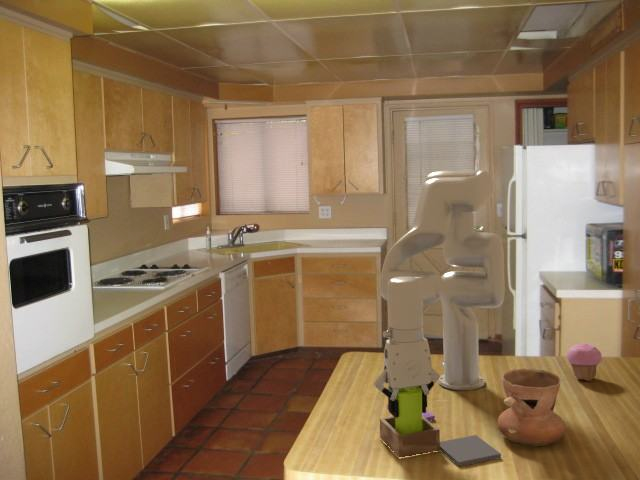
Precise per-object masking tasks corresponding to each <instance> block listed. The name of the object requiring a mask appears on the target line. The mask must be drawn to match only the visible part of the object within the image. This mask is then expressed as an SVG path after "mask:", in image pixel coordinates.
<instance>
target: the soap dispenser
mask: <svg viewBox="0 0 640 480" xmlns="http://www.w3.org/2000/svg"><path fill="white" fill-rule="evenodd" d="M396 399H397V400H398V410H399V417H398V418H395V430H396V431H397V432H398V433H399V434H400V435H403V434H408V433H414V432H419V431H422V389H421V388H420V387H418V386H416V387H409V388H403V389H399V390H398V393H397V396H396Z"/></svg>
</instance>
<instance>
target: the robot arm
mask: <svg viewBox="0 0 640 480" xmlns="http://www.w3.org/2000/svg"><path fill="white" fill-rule="evenodd" d="M493 194H494V180H493V177H492V174H491V173H490V172H489V171H488V170H484V169H464V170H461V169H460V170H439V171H434V172H431V173H429V174H428V175H427V176H426V178H425V182H424V183H423V184H422V186H421V189H420V193H419V197H418V201H417V204H416V210H415V214H414V218H413V221H412V226H411V229H410V230H409V231H408V232H407V233H405V234H404V235H403V236H401V237H400V238H399V239H398V240H397V241H396V242H395V243H394V244H393V246H392V247H390V248H389V250H388V252H387V253H386V255H385V258H384V260H383V261H384V262H383V265H382V269H381V273H380V277H379V283H378V284H379V289H378V290H379V293H380V296H381V297H382V298H383V300H385V301H387V316H388V317H387V318H388V319H387V320H388V321H387V322H388V326H387V330H385V331H383V332H382V337H383V338H384V339H385V338H387V339H386V340H385V346H384V352H383V353H384V354H383V363H382V364H383V365H382V373H381V374H379V376H378V377H377V379H376V380H374V383H373V386H374V387H375V388H376V389H378V390H379V391H380V392H381V393H382V394H384V396H386V397H387V404H388V408H387V409H388V412H389V414H391V416H394V417H395V418H398V417H399V410H398V400H397V399H396V396H397V393H398V390H399V389H403V388H409V387H416V386H418V387H420V388H421V389H422V413H426V410H427V407H428V395H429V394H430V391H431V390H432V388H433V387H434V386H435V384H436V383H437V381H438V384H439V385H440V386H442V387H444V388H446V389H450V390H453V391H472V390H477V389H480V388H482V387H483V386H484V385H485V384H486V383H485V382H486V381H485V380H486V379H485V378H484V377H483V376H482V375H480V372H479V371H480V366H479V362H480V359H479V351H480V350H479V321H478V318H477V315H476V314H475V312H474V311H473V310H472V308H483V309H486V308H487V309H497V308H499V307H500V306H501V305H503V303H504V300H505V296H506V295H505V294H506V293H505V292H506V291H505V290H506V289H505V288H506V286H505V285H506V283H505V279H506V278H505V253H504V245H503V241H502V238H501V237H500V236H499V235H498V234H496V233H495V232H494V233H493V232H485V231H483V232H481V231H480V232H477V231H476V230H475V216H474V215H475V214H474V212H477V211H479V210H480V209H481V208H483V207H484V206H485V205H486V204H488V202H489V201H490V199H492V197H493ZM441 245H442V253H443V258H444V261H445V264H447V265H448V266H451V267H454V268H455V267H456V268H473V269H474V268H475V269H476V268H477V269H483V270H484V271H472V270H471V271H468V270H452V271H448V272H445V273H444V274H442V275H439V274H438V273H437V272H434V271H427V270H413V269H412V270H411V269H401V268H402V266H403V265H404V264H405V263H406V262H407V261H408V260H409V259H411V258H413V257H414V256H416V255H419V254H421V253H424V252H426V251H429V250H432V249H433V248H436V247H438V246H439V247H440V246H441ZM439 300H440V303H441V311H442V340H443V341H442V342H443V343H442V344H443V345H442V346H443V349H442V350H443V362H442V363H441V368H443V374H441V375H440V374H439V373H438V372H437V371H436V370H435V369H434V368H433V364H432V355H431V351H430V346H429V345H430V344H429V342H428V339H427V338H426V337H424V311H423V309H424V308H423V307H425V306H426V307H427V306H431V305H434V304H436V303H437V302H438V301H439ZM384 384H388V386H387V387H385V386H384Z"/></svg>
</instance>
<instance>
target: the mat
mask: <svg viewBox="0 0 640 480" xmlns="http://www.w3.org/2000/svg"><path fill="white" fill-rule="evenodd" d="M440 450H441V451H442V452H443V453H444V454H443V453H442V452H441V451H440V452H441V453H442V454H443V455H445V454H446V455H447V456H448V457H449V458H450V459H451V460H452V461H451V460H450V459H449V458H448V457H447V456H446V455H445V456H446V457H447V458H448V459H449V460H450V461H451V462H453V461H454V462H455V463H456V464H457V465H458V466H460V467H463V466H462V465H465V466H468V465H467V464H470V465H473V464H472V463H475V464H478V463H477V462H480V463H482V462H481V461H485V462H488V460H489V461H493V460H498V459H501V458H502V453H501V452H500V451H498V450H496V449H495V448H494V447H493V446H491V445H490V444H489V443H487V442H486V441H485V440H483V439H482V438H481V437H479V436H478V435H476V434H475V435H469V436H463V437H458V438H453V439H448V440H442V441H440ZM454 462H453V463H454ZM455 463H454V464H455ZM456 464H455V465H456ZM457 465H456V466H457ZM458 466H457V467H458Z"/></svg>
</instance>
